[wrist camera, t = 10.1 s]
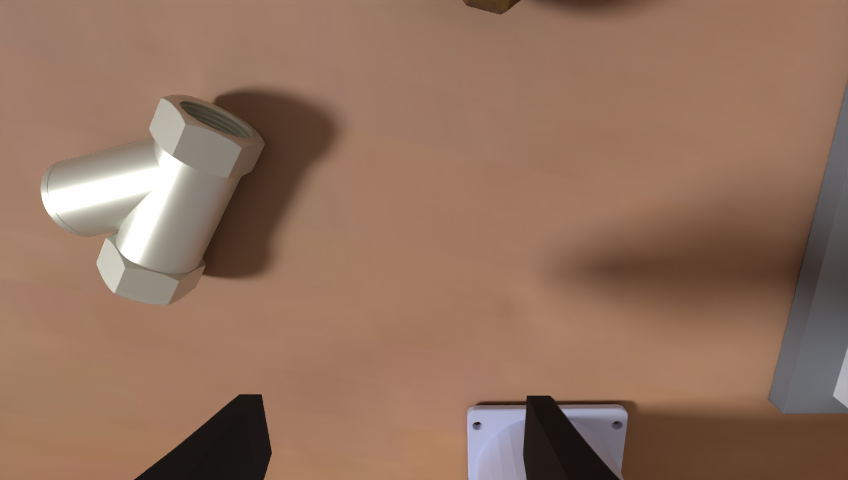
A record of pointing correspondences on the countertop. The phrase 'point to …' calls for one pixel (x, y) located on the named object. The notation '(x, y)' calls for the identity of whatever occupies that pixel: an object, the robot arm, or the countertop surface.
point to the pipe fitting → (156, 197)
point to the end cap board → (820, 301)
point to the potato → (492, 5)
